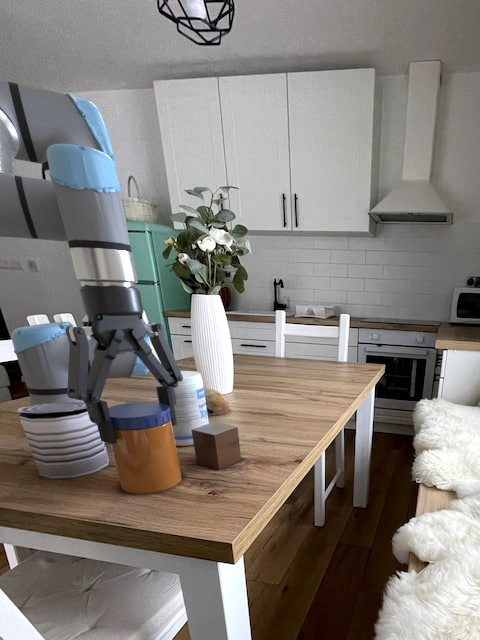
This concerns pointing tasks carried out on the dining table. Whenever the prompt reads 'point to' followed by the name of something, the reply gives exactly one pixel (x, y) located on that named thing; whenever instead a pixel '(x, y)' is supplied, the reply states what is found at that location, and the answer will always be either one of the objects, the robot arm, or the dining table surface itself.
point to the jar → (147, 459)
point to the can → (63, 439)
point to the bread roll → (215, 402)
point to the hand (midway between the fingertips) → (141, 432)
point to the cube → (216, 445)
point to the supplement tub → (188, 407)
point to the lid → (139, 415)
